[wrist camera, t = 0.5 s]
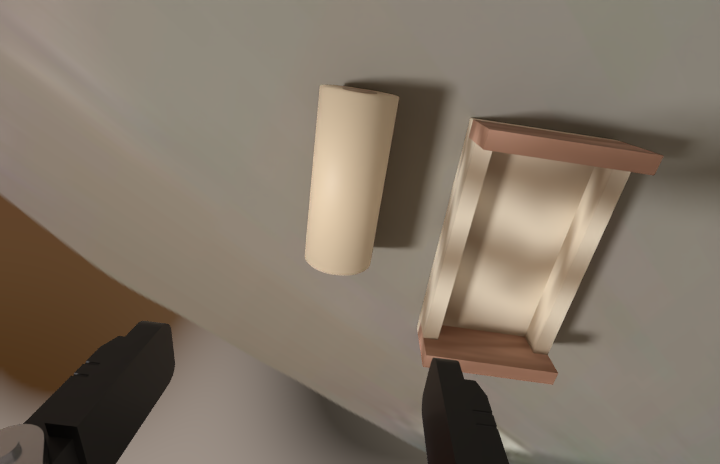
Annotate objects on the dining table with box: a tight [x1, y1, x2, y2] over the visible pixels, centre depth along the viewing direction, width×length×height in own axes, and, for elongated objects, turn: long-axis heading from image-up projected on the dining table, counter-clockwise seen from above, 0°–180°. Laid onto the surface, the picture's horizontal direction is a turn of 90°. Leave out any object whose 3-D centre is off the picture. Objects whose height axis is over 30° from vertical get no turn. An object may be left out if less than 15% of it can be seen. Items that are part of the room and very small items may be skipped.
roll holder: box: [417, 118, 663, 385], centre depth 28 cm, size 18×10×5 cm, turn 172°
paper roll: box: [305, 85, 399, 275], centre depth 26 cm, size 12×5×5 cm, turn 172°
